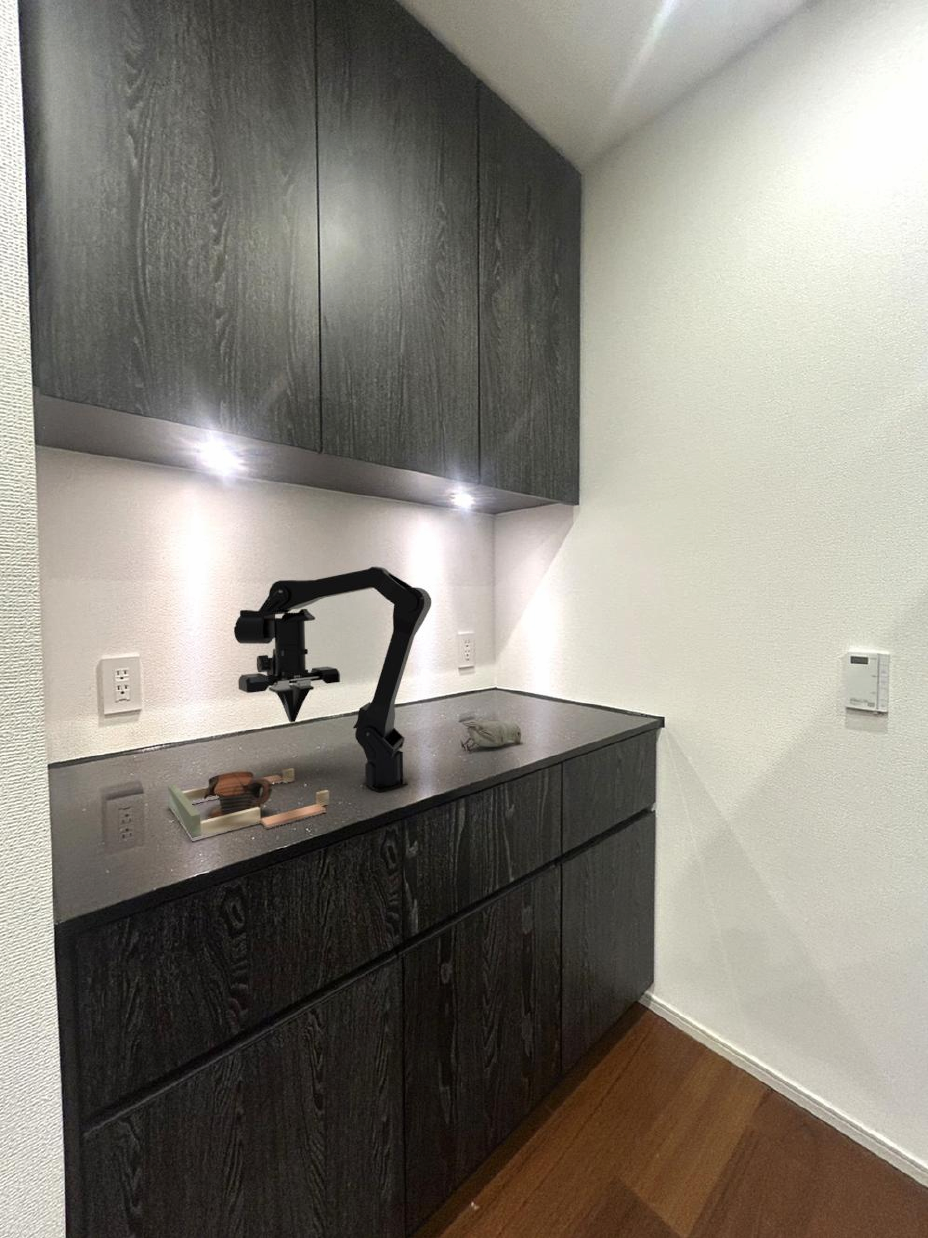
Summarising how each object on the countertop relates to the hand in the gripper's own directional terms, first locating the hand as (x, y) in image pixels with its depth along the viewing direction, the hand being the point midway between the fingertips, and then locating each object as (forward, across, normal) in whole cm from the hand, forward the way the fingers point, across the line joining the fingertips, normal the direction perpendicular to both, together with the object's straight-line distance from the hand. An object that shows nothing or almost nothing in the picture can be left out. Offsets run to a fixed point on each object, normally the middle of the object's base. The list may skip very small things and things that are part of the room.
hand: (292, 721), depth 109 cm
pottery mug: (+12, +13, +9) cm, 20 cm away
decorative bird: (+12, -46, +8) cm, 48 cm away
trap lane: (+12, +10, +8) cm, 18 cm away
